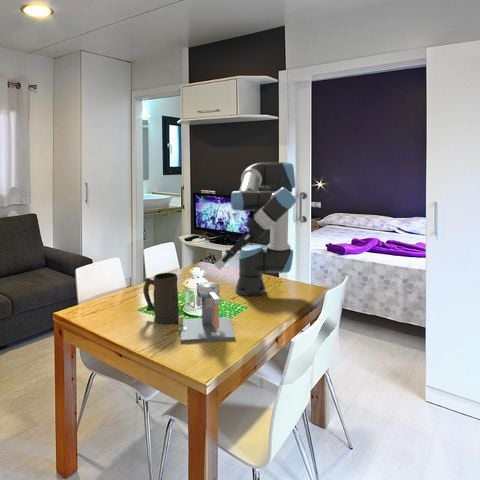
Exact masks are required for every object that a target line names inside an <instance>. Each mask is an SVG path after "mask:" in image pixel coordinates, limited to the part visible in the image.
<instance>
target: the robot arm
mask: <svg viewBox="0 0 480 480" xmlns="http://www.w3.org/2000/svg"><path fill="white" fill-rule="evenodd" d="M294 169H295V167H294V164H293V163H290V162H283V161H282V162H258V163H253V164H252V165H249V166H248V167H246V168H245V169H244V170H243V172H242V173H241V177H240V182H241V184H240V187H239V190H234V191H232V192H231V195H230V203H231V204H230V205H231V209H232V210H233V211H240V212H244V211H245V212H246V211H247V212H249V211H251V212H254V211H255V212H256V211H257V212H256V213H254V214H253V217H251V218H250V219H249V220H248V221H246V227H247V229H248V230H245V231H243V233H242V234H241V236H239V237H238V239H237V241H236V243H235V244H234V245H232V247H230V249H229V250H228V249H226V250H225V254H224V255H223V256H221V258H219V259H218V260H217V261H216V262H215V264H214V266H215V267H216V268H217V269H218V270H222V269H223V268H224V266H226V265H227V264H228V262H229V261H230V260H231V259H232V258H234V257H235V255H236V254H237V253H238V252H239V253H238V254H239V255H238V259H239V261H238V265H239V266H238V267H239V268H238V271H239V272H238V273H239V274H238V279H237V282H236V285H235V293H236V294H237V295H241V296H245V297H257V296H261V295H264V294H265V293H266V285H265V282H264V278H263V273H275V274H276V273H277V274H283V273H286V274H287V273H289V272H290V271H291V269H292V265H293V261H294V260H293V258H294V250H293V248H292V249H291V245H290V244H289V243H288V242H289V241H288V238H289V237H288V236H289V210H290V209H292V207H293V206H294V205H295V204H296V203H297V198H296V197H295V196H294V195H293V189H295V188H296V179H295V178H296V177H295V170H294ZM259 188H266V189H267V191H264V190H263V191H262V190H261V191H259ZM267 230H269V235H270V236H269V243H268V244H267V246H266V248H264V247H263V245H258V244H256V245H255V244H254V245H248V244H249V243H250V242H251V241H252V240H253V239H254V237H253V236H256V237H257V238H262V237H263V236H264V235H265V234H266V233H267ZM247 245H248V246H247Z"/></svg>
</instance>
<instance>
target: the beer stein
mask: <svg viewBox="0 0 480 480" xmlns="http://www.w3.org/2000/svg"><path fill="white" fill-rule="evenodd" d="M178 279H179V278H178V275H177V274H176V273H174V272H161V273H157V274H155V275H154V278H153V279H151V278H150V277H146V278H145V279H144V280H145V281H144V285H143V296H144V299H145V302H146V303H147V307H146V311H147V312H151V311H152V312H153V313H154V318H153V319H154V322H156V323H157V324H161V325H171V324H175V323H177V322H179V321H178V317H179V316H180V309H179V307H180V306H179V295H178V293H179V291H178ZM150 285H152V286H153V303H152V300H151V296H150V292H149V291H150V290H149V287H150Z"/></svg>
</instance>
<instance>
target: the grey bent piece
mask: <svg viewBox="0 0 480 480" xmlns="http://www.w3.org/2000/svg"><path fill="white" fill-rule="evenodd" d="M220 288H221V287H220V284H219V283H217V282H214V281H212V282H211V281H206V282H205V281H204V282H200V283H198V284H196V294H195V301H196V302H195V303H196V306H197V307H202V298H206V308H212V325H213V327H214V328H215V329H219V317H220V305H221V293H220V292H221V291H220Z"/></svg>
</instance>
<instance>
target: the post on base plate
mask: <svg viewBox="0 0 480 480" xmlns="http://www.w3.org/2000/svg"><path fill="white" fill-rule="evenodd" d="M177 322H178V331H179V332H180V343H181V344H185V343H187V344H188V343H205V342H220V341H221V342H223V341H236V336H235V331H234V328H233V326H232V322H231V318H230V316H222V317H220V316H219V329H215V328H214V327H213V325H212V308H206V298H202V301H201V317H200V318H184V316H183V315H179V317H178V321H177Z"/></svg>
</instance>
